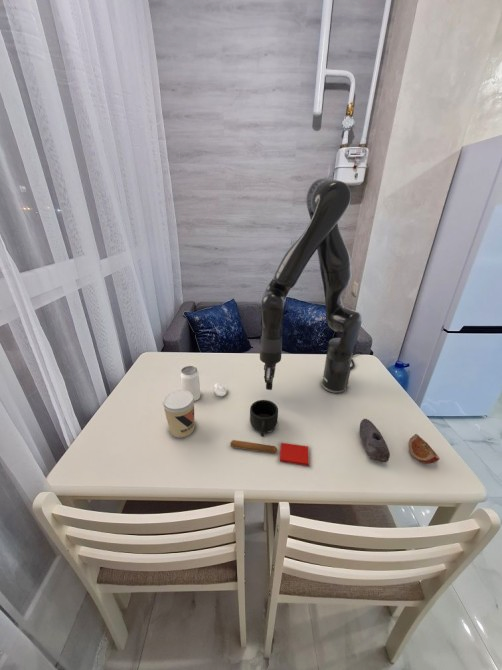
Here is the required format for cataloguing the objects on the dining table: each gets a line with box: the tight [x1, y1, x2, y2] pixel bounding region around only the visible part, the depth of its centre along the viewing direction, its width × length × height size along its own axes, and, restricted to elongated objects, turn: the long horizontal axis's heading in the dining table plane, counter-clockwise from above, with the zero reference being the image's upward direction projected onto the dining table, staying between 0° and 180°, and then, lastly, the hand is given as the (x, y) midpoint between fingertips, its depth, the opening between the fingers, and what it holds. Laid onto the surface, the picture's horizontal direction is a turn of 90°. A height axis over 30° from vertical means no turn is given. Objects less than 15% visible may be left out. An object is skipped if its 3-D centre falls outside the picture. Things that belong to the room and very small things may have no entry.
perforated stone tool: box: [359, 418, 391, 464], centre depth 78 cm, size 15×5×7 cm, turn 176°
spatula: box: [230, 439, 310, 467], centre depth 77 cm, size 23×6×2 cm, turn 80°
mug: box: [249, 399, 279, 437], centre depth 84 cm, size 12×9×7 cm
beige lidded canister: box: [162, 389, 195, 439], centre depth 83 cm, size 9×9×12 cm
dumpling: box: [213, 382, 227, 398], centre depth 101 cm, size 7×5×4 cm
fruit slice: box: [408, 433, 440, 464], centre depth 75 cm, size 8×7×5 cm
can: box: [180, 365, 201, 402], centre depth 97 cm, size 6×6×12 cm
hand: (269, 388), depth 97 cm, fingers closed
